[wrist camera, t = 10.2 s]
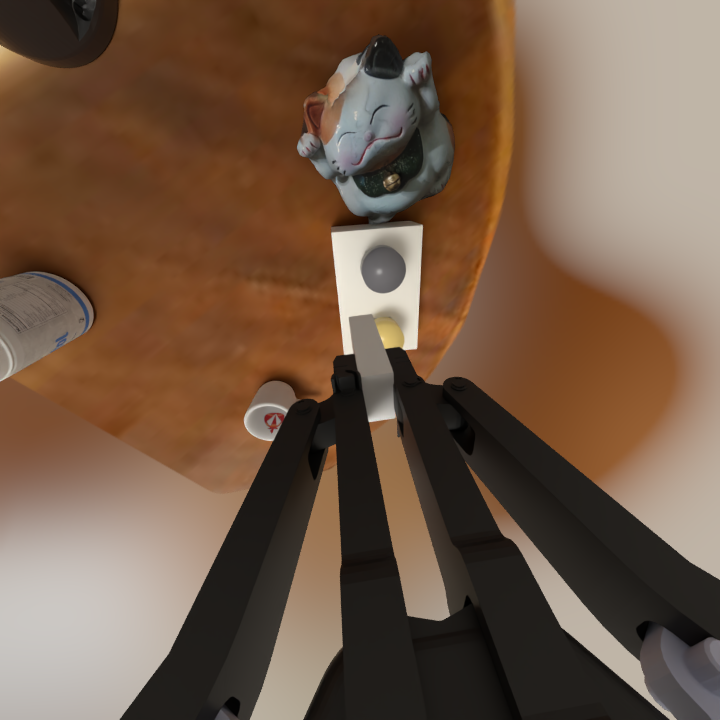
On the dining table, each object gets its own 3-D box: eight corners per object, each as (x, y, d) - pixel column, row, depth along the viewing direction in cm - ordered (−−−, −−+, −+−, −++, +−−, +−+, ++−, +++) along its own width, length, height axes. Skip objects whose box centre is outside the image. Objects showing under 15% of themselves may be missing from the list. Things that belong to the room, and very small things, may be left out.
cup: (316, 376, 51) (314, 405, 44) (314, 410, 55) (312, 442, 48) (253, 373, 49) (241, 403, 42) (256, 408, 53) (245, 441, 46)
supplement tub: (77, 345, 44) (-25, 408, 31) (3, 300, 39) (-150, 352, 27) (111, 305, 41) (16, 357, 28) (36, 253, 37) (-115, 286, 24)
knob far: (357, 299, 44) (365, 326, 35) (389, 296, 44) (404, 322, 36) (359, 328, 47) (367, 360, 38) (389, 325, 47) (404, 356, 38)
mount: (330, 226, 38) (331, 232, 33) (410, 220, 39) (422, 225, 34) (342, 338, 47) (344, 356, 42) (407, 331, 48) (416, 348, 43)
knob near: (353, 237, 39) (361, 250, 31) (389, 234, 40) (406, 246, 31) (356, 273, 42) (363, 295, 33) (389, 270, 42) (405, 291, 34)
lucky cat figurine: (351, 237, 39) (301, 212, 27) (326, 146, 38) (260, 71, 25) (463, 193, 34) (468, 134, 21) (440, 84, 32) (431, -53, 20)
